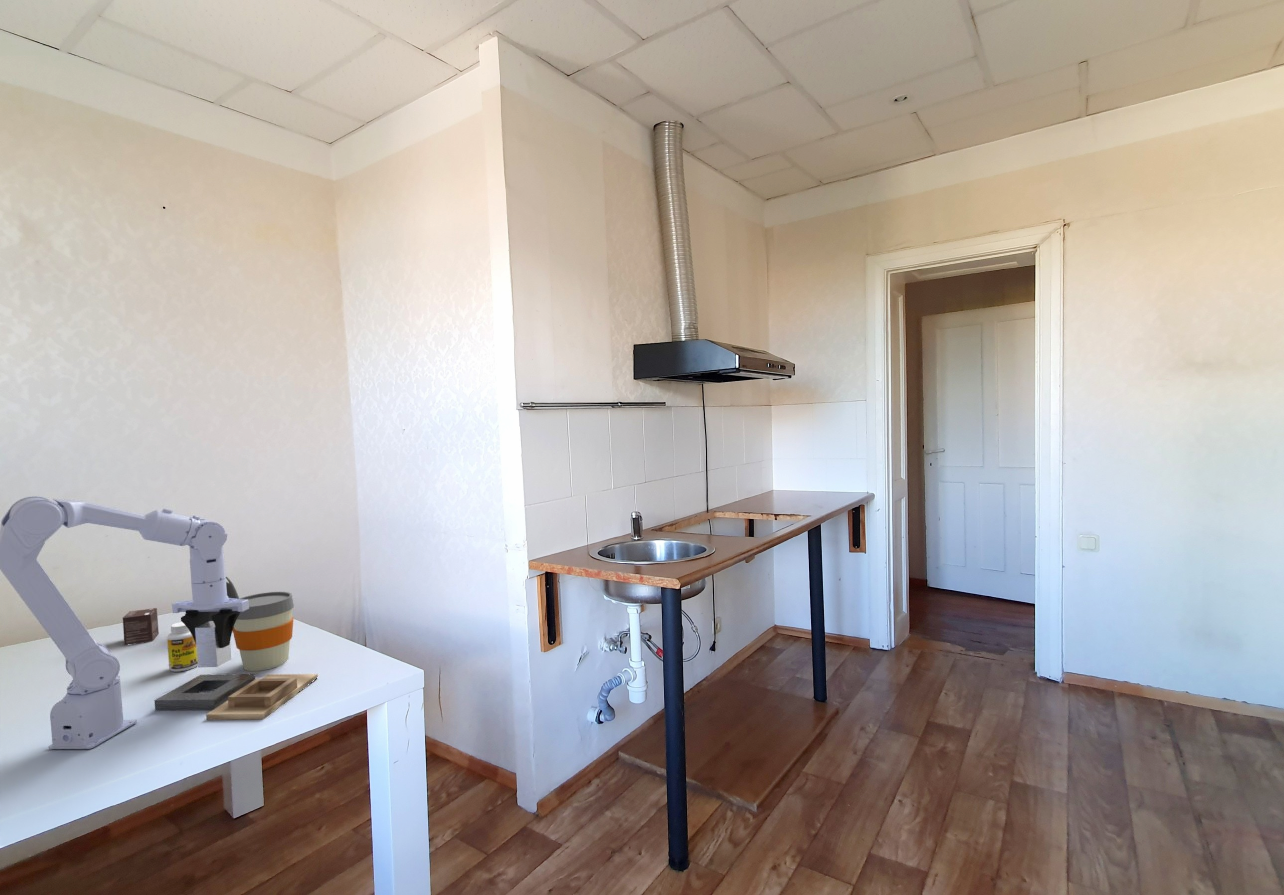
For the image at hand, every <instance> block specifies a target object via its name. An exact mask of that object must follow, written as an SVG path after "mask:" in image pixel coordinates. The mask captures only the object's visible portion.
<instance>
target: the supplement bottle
mask: <svg viewBox="0 0 1284 895" xmlns="http://www.w3.org/2000/svg"><path fill="white" fill-rule="evenodd" d="M166 638H167V639H166V640H167V641H166V642H167V652H168V654H167V655H168V657H167V658H168V667H169V670H170V671H171V672H175V673H177V672H179V673H180V672H184V671H188V670H189V671H190V670H191V669H194V668H196V667H198V661H197V648H196V643H195V641H194V638H193V636H192V634H191V632H190V631H189V629H188V628H187V627H186V625H185V624H184V623H183V622H182V621H179V622H176V623H172V625H170V633H169V634H168V635H167V637H166Z"/></svg>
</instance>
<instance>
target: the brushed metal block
mask: <svg viewBox="0 0 1284 895" xmlns="http://www.w3.org/2000/svg"><path fill="white" fill-rule="evenodd" d="M195 635H196V648H197V661H198V665H197V668H219V667H221V666H222V665H224V664H226V663H227V662H229V661H231V660H232V649H231V644H230V645H228V646H226V647H224V648H219V644H218V637H217V630H216V627H215V624H214V622H213V621H209V622H207V623H205V624H203V625H200V626H198V627H196V628H195Z"/></svg>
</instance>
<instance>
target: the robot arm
mask: <svg viewBox="0 0 1284 895" xmlns="http://www.w3.org/2000/svg"><path fill="white" fill-rule="evenodd" d="M52 500H53V501H52ZM52 500H50V499H48V498H46V497H42V496H39V495H38V496H37V495H36V496H34V495H33V496H26V497H23V498H21V499H19V500H17V501H15V502H14V503H13V504H12V505H11V506H10V507H9V508H8V510H7V512H6V513H5V514H4V516H3V517H2V519H1V520H0V571H1V573H2V574H3V575H4V577H5V578H6V579H7V581H8V582H9V584H11V586H12V587H13V589H14V590H15V592H16V593H17V594H18V595H19V597H20V598H21V600H22V601H23V602H24V604H25V605H26V607H27V608H28V609H29V611H30V612H31V613H32V615H33V616H34V617H35V618H36V620H37V621H38V623H39V624H40V625H41V627H42V628H43V629H44V630H45V632H46V633H47V634H48V636H49V637H50V639H51V640H52V641H53V643H54V644H55V645H56V647H57V648H58V649H59V651H60V653H61V654H62V655H63V657H64V658H65V669H66V670H65V671H66V672H67V673H68V674H69V675H70V676H71V678H72V680H71V682H70V683H69V685H68V686H67V687H66V693H65V696H64V697H63V698H62V699H60V700H59V701H57V702H56V703H55V704H54V705H53V706H52V708H51V710H50V713H49V718H50V732H51V742H52V743H51V744H50V745H48V750H89V749H92V748H95V747H96V746H98V745H100V744H102V743H103V742H106V741H107V740H109V739H111V738H112V737H114V736H115V735H117V734H119V733H121V732H124V731H125V730H126V729H127V728H129V727H131V726H134V725H135V724H136V723H137V719H124V712H123V711H124V709H123V700H122V698H123V697H122V688H121V687H122V686H121V677H120V676H119V673H120V670H121V665H120V664H121V663H120V661H119V660H118V659H117V657H116V656H114V655H113V654H112V653H111V651H110V649H109V648H108V647H107V646H105V645H104V644H102V643H98V642H96V640H95V638H93V636H92V635H91V633H90V632H89V631H88V628H86V626H85V625H84V623H82V621H81V619H80V618H79V616H78V615H77V613H76V612H75V610H74V609H73V608H72V606H70V604H69V603H68V601H67V600H66V598H65V597H64V595H63V594H62V593H61V591H60V590H59V589H58V587H57V585H56V584H55V583H54V581H53V580H52V578H50V576H49V575H48V573H47V572H46V570H45V569H44V568H43V566H42V565H41V562H39V560H38V559H37V558H38V556H39V554H40V552H42V549H43V547H44V546H45V543H46V542H47V540H49V539H50V538H51V537H52V536H53V535H55V533H56V532H57V531H58V530H60V528H61V527H63V526H64V527H65V528H67V529H69V528H73V527H78V526H81V525H85V524H92V525H98V526H104V527H111V528H118V529H123V530H131V531H136V532H138V533H139V534H140V535H141V537H142V539H144V540H145V541H151V542H157V543H162V544H163V543H164V544H169V545H175V546H180V547H184V546H188V547H189V557H190V558H189V567H190V570H189V572H190V582H191V583H190V584H191V594H192V599H191V600H179V601H176V602H174V603H171V608H172V609H171V611H172V614H179V613H184V615H183V616H180V622H183V623H184V624H185V625H186V627H187V628H188V629H189V631H190V632H191V634H192V636H193V638H194V641H195V643H196V635H195V628H196V627H198V626H200V625H203V624H205V623H207V622H209V615H210V611H219V613H217V614H215V615H213V616H211V618H212V620H213V622H214V624H215V627H216V630H217V637H218V644H219V648H224V647H226V646H228V645H230V646H231V640H232V635H233V627H234V625H235V622H236V620H237V618H238V616H239V614H240V612H243V611H245V610H247V609H249V601H248V599H240V598H239V599H234V598H228V596H227V588H226V577H227V575H226V564H225V562H226V561H225V555H224V545H225V543H226V542H227V539H228V533H227V532H226V530H225V528H224V527H223V526H222V525H221V524H220V523H217V522H214V521H211V520H208V519H205V518H201V517H200V516H199V515H192V517H191V516H187V515H181V514H178V513H173V510H172V509H169V508H163V509H162V510H158V509H155V510H152V511H150V512H148V513H145V514H141V513H137V512H132V511H128V510H123V509H120V508H115V507H114V508H113V507H109V506H105V505H101V504H96V503H92V502H87V501H83V500H75V499H65V498H64V499H63V498H52ZM54 501H55V502H54Z"/></svg>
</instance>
